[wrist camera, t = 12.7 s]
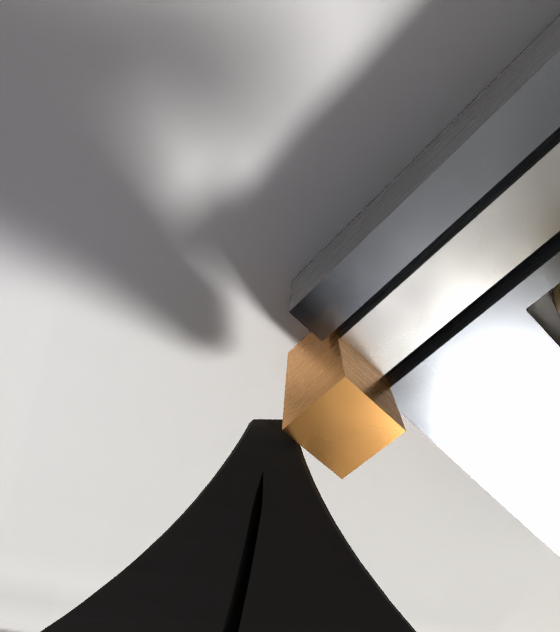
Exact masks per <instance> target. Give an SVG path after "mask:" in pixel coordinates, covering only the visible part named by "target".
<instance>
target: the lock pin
mask: <svg viewBox="0 0 560 632" xmlns="http://www.w3.org/2000/svg"><path fill="white" fill-rule="evenodd" d="M559 231H560V127H559V128H558V129H557V130H556V131H555V132H553V133H552V134H551V135H550V136H549V137H548V138H547V139H546V140H545V141H544V142H542V143H541V144H540V145H539V146H538V147H537V148H536V149H535V150H534V151H532V152H531V153H530V154H529V155H528V156H527V157H526V158H525V159H524V160H523V161H521V162H520V163H519V164H518V165H517V166H516V167H515V168H514V169H513V170H511V171H510V172H509V173H508V174H507V175H506V176H505V177H504V178H503V179H502V180H500V181H499V182H498V183H497V184H496V185H495V186H494V187H493V188H492V189H490V190H489V191H488V192H487V193H486V194H485V195H484V196H483V197H482V198H480V199H479V200H478V201H477V202H476V203H475V204H474V205H473V206H472V207H471V208H469V209H468V210H467V211H466V212H465V213H464V214H463V215H462V216H461V217H459V218H458V219H457V220H456V221H455V222H454V223H453V224H452V225H451V226H450V227H448V228H447V229H446V230H445V231H444V232H443V233H442V234H441V235H440V236H438V237H437V238H436V239H435V240H434V241H433V242H432V243H431V244H430V245H429V246H427V247H426V248H425V249H424V250H423V251H422V252H421V253H420V254H419V255H417V256H416V257H415V258H414V259H413V260H412V261H411V262H410V263H409V264H408V265H406V266H405V267H404V268H403V269H402V270H401V271H400V272H399V273H398V274H396V275H395V276H394V277H393V278H392V279H391V280H390V281H389V282H388V283H387V284H385V285H384V286H383V287H382V288H381V289H380V290H379V291H378V292H377V293H375V294H374V295H373V296H372V297H371V298H370V299H369V300H368V301H367V302H365V303H364V304H363V305H362V306H361V307H360V308H359V309H358V310H357V311H356V312H354V313H353V314H352V315H351V316H350V317H349V318H348V319H347V320H346V321H344V322H343V323H342V324H341V325H340V326H339V327H338V328H337V329H336V330H335V331H333V332H332V333H331V334H330V335H329V336H328V337H327V338H326V339H325V340H323V341H321V340H320V339H319V338H318V337H316V336H315V335H314V334H313V333H312V332H310V333H309V334H308V335H307V336H306V337H305V338H304V339H303V340H302V341H300V342H299V343H298V344H297V345H296V346H295V347H294V348H293V349H292V350H291V351H290V352H289V353H288V360H287V373H286V385H285V398H284V411H283V423H282V430H283V431H284V432H285V433H286V434H287V435H289V436H290V437H291V438H292V439H294V440H295V441H296V442H297V443H298V444H300V445H301V446H302V447H303V448H305V449H306V450H307V451H308V452H309V453H311V454H312V455H313V456H314V457H316V458H317V459H318V460H319V461H320V462H322V463H323V464H324V465H325V466H327V467H328V468H329V469H330V470H331V471H333V472H334V473H335V474H336V475H338V476H339V477H340V478H341V479H343V478H344V477H345V476H347V475H348V474H349V473H351V472H352V471H353V470H355V469H356V468H357V467H359V466H360V465H361V464H363V463H364V462H365V461H367V460H368V459H369V458H371V457H372V456H373V455H375V454H376V453H377V452H379V451H380V450H381V449H383V448H384V447H385V446H387V445H388V444H389V443H391V442H392V441H393V440H395V439H396V438H397V437H399V436H400V435H401V434H403V433H404V432H405V431H406V430H405V427H404V424H403V422H402V419H401V416H400V413H399V410H398V408H397V405H396V402H395V399H394V397H393V394H392V391H391V388H390V386H389V383H388V380H387V377H386V375H385V374H386V373H387V372H388V371H389V370H391V369H392V368H393V367H394V366H395V365H397V364H398V363H399V362H400V361H401V360H403V359H404V358H405V357H406V356H408V355H409V354H410V353H411V352H412V351H414V350H415V349H416V348H417V347H419V346H420V345H421V344H422V343H423V342H425V341H426V340H427V339H428V338H430V337H431V336H432V335H433V334H434V333H436V332H437V331H438V330H439V329H440V328H442V327H443V326H444V325H445V324H447V323H448V322H449V321H450V320H451V319H453V318H454V317H455V316H456V315H458V314H459V313H460V312H461V311H462V310H464V309H465V308H466V307H467V306H469V305H470V304H471V303H472V302H473V301H475V300H476V299H477V298H478V297H479V296H481V295H482V294H483V293H484V292H486V291H487V290H488V289H489V288H490V287H492V286H493V285H494V284H495V283H497V282H498V281H499V280H500V279H501V278H503V277H504V276H505V275H506V274H508V273H509V272H510V271H511V270H512V269H514V268H515V267H516V266H517V265H518V264H520V263H521V262H522V261H523V260H525V259H526V258H527V257H528V256H529V255H531V254H532V253H533V252H534V251H536V250H537V249H538V248H539V247H540V246H542V245H543V244H544V243H545V242H546V241H548V240H549V239H550V238H551V237H553V236H554V235H555V234H556V233H557V232H559Z"/></svg>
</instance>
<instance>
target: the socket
mask: <svg viewBox="0 0 560 632" xmlns="http://www.w3.org/2000/svg"><path fill="white" fill-rule="evenodd" d="M559 127H560V15H559V16H558V17H557V18H556V19H555V20H554V21H553V22H552V23H551V24H550V25H549V26H548V27H547V28H546V29H545V30H544V31H543V32H542V33H541V34H540V35H539V36H538V37H537V38H536V39H535V40H534V41H533V42H532V43H531V44H530V45H529V46H528V47H527V48H526V49H525V50H524V51H523V52H522V53H521V54H520V55H519V56H518V57H517V58H516V59H515V60H514V61H513V62H512V63H511V64H510V65H509V66H508V67H507V68H506V69H505V70H504V71H503V72H502V73H501V74H500V75H499V76H498V77H497V78H496V79H495V80H494V81H493V82H492V83H491V84H490V85H489V86H488V87H487V88H486V89H485V90H484V91H483V92H482V93H481V94H480V95H479V96H478V97H477V98H476V99H475V100H474V101H473V102H472V103H471V104H470V105H469V106H468V107H467V108H465V109H464V110H463V111H462V112H461V113H460V114H459V115H458V116H457V117H456V118H455V119H454V120H453V121H452V122H451V123H450V124H449V125H448V126H447V127H446V128H445V129H444V130H443V131H442V132H441V133H440V134H439V135H438V136H437V137H436V138H435V139H434V140H433V141H432V142H431V143H430V144H429V145H428V146H427V147H426V148H425V149H424V150H423V151H422V152H421V153H420V154H419V155H418V156H417V157H416V158H415V159H414V160H413V161H412V162H411V163H410V164H409V165H408V166H407V167H406V168H405V169H404V170H403V171H402V172H401V173H400V174H399V175H398V176H397V177H396V178H395V179H394V180H393V181H392V182H391V183H390V184H389V185H388V186H387V187H386V188H385V189H384V190H383V191H382V192H381V193H380V194H379V195H378V196H377V197H376V198H375V199H374V200H373V201H372V202H371V203H370V204H369V205H368V206H367V207H366V208H365V209H364V210H363V211H362V212H361V213H360V214H359V215H358V216H357V217H356V218H355V219H354V220H353V221H352V222H351V223H350V224H349V225H348V226H347V227H346V228H345V229H344V230H343V231H342V232H341V233H340V234H339V235H338V236H337V237H336V238H335V239H334V240H333V241H332V242H331V243H330V244H329V245H328V246H327V247H326V248H325V249H324V250H323V251H322V252H321V253H320V254H319V255H318V256H317V257H316V258H315V259H314V260H313V261H312V262H311V263H310V264H309V265H308V266H307V267H306V268H305V269H304V270H303V271H302V272H301V273H300V274H299V275H298V276H297V277H296V278H295V279H294V280H293V281H292V287H291V297H290V308H289V312H290V313H291V314H292V315H293V316H294V317H295V318H297V319H298V320H299V321H300V322H301V323H302V324H303V325H304V326H305V327H307V328H308V329H309V330H310V331H311V332H312V333H313V334H314V335H315V336H316V337H318V338H319V339H320V340H321V341H323V340H325V339H326V338H327V337H328V336H329V335H330V334H331V333H332V332H333V331H335V330H336V329H337V328H338V327H339V326H340V325H341V324H342V323H343V322H344V321H346V320H347V319H348V318H349V317H350V316H351V315H352V314H353V313H354V312H356V311H357V310H358V309H359V308H360V307H361V306H362V305H363V304H364V303H365V302H367V301H368V300H369V299H370V298H371V297H372V296H373V295H374V294H375V293H377V292H378V291H379V290H380V289H381V288H382V287H383V286H384V285H385V284H387V283H388V282H389V281H390V280H391V279H392V278H393V277H394V276H395V275H396V274H398V273H399V272H400V271H401V270H402V269H403V268H404V267H405V266H406V265H408V264H409V263H410V262H411V261H412V260H413V259H414V258H415V257H416V256H417V255H419V254H420V253H421V252H422V251H423V250H424V249H425V248H426V247H427V246H429V245H430V244H431V243H432V242H433V241H434V240H435V239H436V238H437V237H438V236H440V235H441V234H442V233H443V232H444V231H445V230H446V229H447V228H448V227H450V226H451V225H452V224H453V223H454V222H455V221H456V220H457V219H458V218H459V217H461V216H462V215H463V214H464V213H465V212H466V211H467V210H468V209H469V208H471V207H472V206H473V205H474V204H475V203H476V202H477V201H478V200H479V199H480V198H482V197H483V196H484V195H485V194H486V193H487V192H488V191H489V190H490V189H492V188H493V187H494V186H495V185H496V184H497V183H498V182H499V181H500V180H502V179H503V178H504V177H505V176H506V175H507V174H508V173H509V172H510V171H511V170H513V169H514V168H515V167H516V166H517V165H518V164H519V163H520V162H521V161H523V160H524V159H525V158H526V157H527V156H528V155H529V154H530V153H531V152H532V151H534V150H535V149H536V148H537V147H538V146H539V145H540V144H541V143H542V142H544V141H545V140H546V139H547V138H548V137H549V136H550V135H551V134H552V133H553V132H555V131H556V130H557V129H558V128H559ZM559 283H560V231H559V232H557V233H556V234H555V235H554V236H553V237H551V238H550V239H549V240H548V241H546V242H545V243H544V244H543V245H542V246H540V247H539V248H538V249H537V250H536V251H534V252H533V253H532V254H531V255H529V256H528V257H527V258H526V259H525V260H523V261H522V262H521V263H520V264H518V265H517V266H516V267H515V268H514V269H512V270H511V271H510V272H509V273H508V274H506V275H505V276H504V277H503V278H501V279H500V280H499V281H498V282H497V283H495V284H494V285H493V286H492V287H490V288H489V289H488V290H487V291H486V292H484V293H483V294H482V295H481V296H479V297H478V298H477V299H476V300H475V301H473V302H472V303H471V304H470V305H469V306H467V307H466V308H465V309H464V310H462V311H461V312H460V313H459V314H458V315H456V316H455V317H454V318H453V319H451V320H450V321H449V322H448V323H447V324H445V325H444V326H443V327H442V328H440V329H439V330H438V331H437V332H436V333H434V334H433V335H432V336H431V337H430V338H428V339H427V340H426V341H425V342H423V343H422V344H421V345H420V346H419V347H417V348H416V349H415V350H414V351H412V352H411V353H410V354H409V355H408V356H406V357H405V358H404V359H403V360H401V361H400V362H399V363H398V364H397V365H395V366H394V367H393V368H392V369H391V370H389V371H388V372H387V373H386V374H385V375H386V377H387V380H388V383H389V386H390V388H391V391H392V394H393V397H394V399H395V402H396V405H397V408H398V410H399V412H400V413H402V414H403V415H404V416H405V417H406V418H407V419H408V420H409V421H410V422H411V423H413V424H414V425H415V426H416V427H417V428H418V429H419V430H420V431H421V432H423V433H424V434H425V435H426V436H427V437H428V438H429V439H430V440H431V441H432V442H434V443H435V444H436V445H437V446H438V447H439V448H440V449H441V450H442V451H444V452H445V453H446V454H447V455H448V456H449V457H450V458H451V459H452V460H453V461H455V462H456V463H457V464H458V465H459V466H460V467H461V468H462V469H463V470H465V471H466V472H467V473H468V474H469V475H470V476H471V477H472V478H473V479H474V480H476V481H477V482H478V483H479V484H480V485H481V486H482V487H483V488H484V489H485V490H487V491H488V492H489V493H490V494H491V495H492V496H493V497H494V498H495V499H497V500H498V501H499V502H500V503H501V504H502V505H503V506H504V507H505V508H506V509H508V510H509V511H510V512H511V513H512V514H513V515H514V516H515V517H516V518H518V519H519V520H520V521H521V522H522V523H523V524H524V525H525V526H526V527H527V528H529V529H530V530H531V531H532V532H533V533H534V534H535V535H536V536H537V537H539V538H540V539H541V540H542V541H543V542H544V543H545V544H546V545H547V546H548V547H550V548H551V549H552V550H553V551H554V552H555V553H556V554H557V555H558V556H560V347H559V346H558V344H557V343H556V342H555V341H554V340H553V339H552V338H551V337H550V336H549V335H548V334H547V333H546V331H545V330H544V329H543V328H542V327H541V326H540V325H539V324H538V323H537V322H536V321H535V319H534V318H533V317H532V316H531V315H530V314H529V313H528V312H527V311H526V310H525V309H527V308H528V307H529V306H531V305H532V304H533V303H534V302H536V301H537V300H538V299H540V298H541V297H542V296H543V295H545V294H546V293H547V292H549V291H550V290H551V289H552V288H554V287H555V286H556V285H558V284H559Z"/></svg>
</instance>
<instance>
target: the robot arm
mask: <svg viewBox="0 0 560 632" xmlns="http://www.w3.org/2000/svg"><path fill="white" fill-rule="evenodd" d="M282 423H283V420H265V419H254V420H252V421H251V422H250V423H249V425H248V427H247V429H246V430H245V432H244V434H243V435H242V437H241V439H240V440H239V442H238V443H237V445H236V447H235V448H234V450H233V451H232V453H231V454H230V455H229V457H228V458H227V460H226V461H225V462H224V464H223V465H222V467H221V468H220V469H219V471H218V472H217V473H216V475H215V476H214V477H213V479H212V480H211V481H210V482H209V484H208V485H207V486H206V487H205V488H204V490H203V491H202V492H201V493H200V495H199V496H198V497H197V498H196V499H195V501H194V502H193V503H192V504H191V505H190V506H189V507H188V509H187V510H186V511H185V512H184V513H183V514H182V515H181V516H180V517H179V518H178V519H177V520H176V521H175V522H174V524H173V525H172V526H171V527H170V528H169V529H168V530H167V531H166V532H165V533H164V534H163V535H162V536H161V537H160V538H158V539H157V540H156V541H155V542H154V543H153V544H152V545H151V546H150V547H149V548H148V549H147V550H146V551H144V552H143V553H142V554H141V555H140V556H139V557H138V558H137V559H136V560H135V561H133V562H132V563H131V564H130V565H129V566H128V567H127V568H125V569H124V570H123V571H122V572H121V573H119V574H118V575H117V576H116V577H114V578H113V579H112V580H110V581H109V582H108V583H107V584H105V585H104V586H103V587H102V588H100V589H99V590H98V591H97V592H95V593H94V594H93V595H92V596H90V597H89V598H88V599H86V600H85V601H84V602H82V603H81V604H80V605H78V606H77V607H76V608H74V609H73V610H72V611H70V612H69V613H67V614H66V615H65V616H63V617H62V618H60V619H59V620H57V621H56V622H54V623H53V624H51V625H50V626H48V627H47V628H45V629H44V630H42V631H41V632H416V631H415V630H414V629H413V628H412V626H411V625H410V624H409V623H408V622H407V620H406V619H405V618H404V617H403V616H402V615H401V613H400V612H399V611H398V610H397V609H396V607H395V606H394V605H393V604H392V603H391V601H390V600H389V599H388V598H387V596H386V595H385V594H384V592H383V591H382V590H381V588H380V587H379V586H378V584H377V583H376V582H375V580H374V579H373V578H372V576H371V575H370V574H369V572H368V571H367V570H366V568H365V567H364V566H363V565H362V563H361V562H360V560H359V559H358V557H357V556H356V554H355V553H354V551H353V550H352V548H351V547H350V545H349V544H348V542H347V541H346V539H345V538H344V536H343V534H342V533H341V531H340V530H339V528H338V526H337V525H336V523H335V521H334V519H333V518H332V516H331V514H330V512H329V511H328V509H327V507H326V505H325V503H324V501H323V499H322V497H321V495H320V493H319V491H318V489H317V487H316V485H315V483H314V480H313V478H312V476H311V473H310V471H309V468H308V466H307V464H306V461H305V458H304V456H303V453H302V450H301V446H300V444H298V443H297V442H296V441H295V440H294V439H292V438H291V437H290V436H289V435H287V434H286V433H285V432H284V431H283V430H282Z"/></svg>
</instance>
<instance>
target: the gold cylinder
mask: <svg viewBox="0 0 560 632" xmlns="http://www.w3.org/2000/svg"><path fill="white" fill-rule="evenodd" d="M553 297H554V303H555V306H556V309H557V311H558V313H559V315H560V283H559V284H558V285H556V286H555V287H554V288H553Z"/></svg>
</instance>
